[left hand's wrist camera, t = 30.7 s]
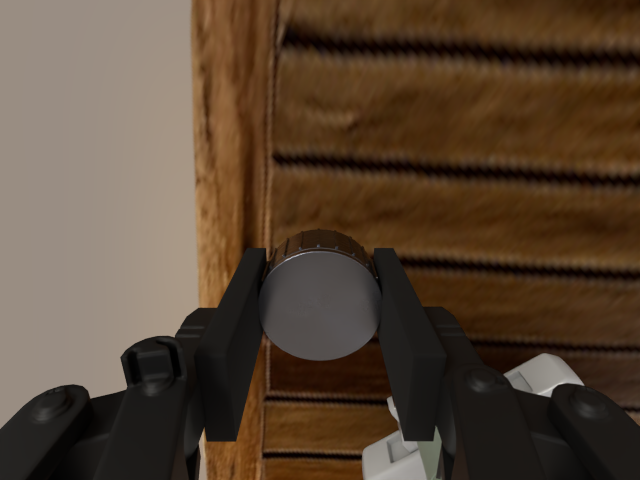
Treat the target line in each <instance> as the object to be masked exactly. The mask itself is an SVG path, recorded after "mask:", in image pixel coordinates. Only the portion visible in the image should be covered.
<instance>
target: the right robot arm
mask: <svg viewBox="0 0 640 480" xmlns="http://www.w3.org/2000/svg"><path fill="white" fill-rule="evenodd" d="M503 375H504V376H505V377H507V378H508V380H509V381H510V383H511V385H512V386H513V388H515V389H518V390H522V391H525V392H529V393H534V394H538V395H542V396H547V397H551V394H552V390H553V389H554V388H555V387H556V386H557V385H559V384H564V383H572V384H580V385H583V386H584V384H583V383H582V381H581V380H580V379H579V377H578V376H577V375H576V374H575V373H574V372H573V371H572V369H571V368H570V367H569V366H568V365H567V364H566V363H565V362H564V361H563V360H562V359H561V358H560V357H558V356H555V355H551V354H546V353H543V354H540V355H538V356H536V357H535V358H533V359H531V360H529V361H527V362H525V363H523V364H521V365H520V366H518V367H516V368H514V369H512V370H510V371H508V372H506V373H505V374H503ZM387 401H388V406H389V410H390V412H391V414H392V415H393V416H394V418H395V419H396V420H397V423H398V428H399V430H398V431H396V432H394V433H392V434H390V435H388V436H387V437H385V438H383V439H381V440H379V441H377V442H375V443H373V444H372V445H370V446H368V447H366V448H365V449H364V450H363V455H362V471H363V479H364V480H427V477H426V474H425V470H424V467H423V463H422V459H421V456H420V452H419V448H418V445H417V441H404V439H403V435H402V430H401V426H400V422H399V418H398V414H397V410H396V406H395V402H394V398H393V395H392V396H391V397H389V398H387Z"/></svg>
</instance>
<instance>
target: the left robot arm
mask: <svg viewBox="0 0 640 480" xmlns="http://www.w3.org/2000/svg"><path fill="white" fill-rule="evenodd" d="M266 264H267V258H266V248H247V249H246V251H245V253H244V255H243V257H242V259H241V261H240V263H239V265H238V267H237V269H236V271H235V273H234V275H233V277H232V279H231V281H230V283H229V285H228V287H227V289H226V291H225V293H224V295H223V297H222V299H221V301H220V303H219V305H218V307H217V308H198V309H196V310H195V311H194V312H192V313H191V314H190V315H188V316H187V317H186V319H185V320H184V322H183V323H182V325H181V327H180V329H179V330H178V331H177V333H176V335H175V338H174V337H171V336H156V337H151V338H147V339H144V340H142V341H140V342H137V343H135V344H134V345H132V346H131V347H130V348H128V349H127V350H126V351H125V352H124V353H123V355H122V356H121V362H122V366H123V370H124V374H125V378H126V383H127V389H126V390H124V391H120V392H117V393H113V394H109V395H105V396H100V397H96V398H92V399H90V396H89V393H88V391H87V390H86V389H85V388H84V387H83V386H79V385H74V384H73V385H64V386H59V387H56V388H53V389H50V390H47V391H45V392H44V393H42V394H40V395H38V396H36V397H34V398H33V399H32V400H31V401H29V402H28V403H27V404H25V405H24V406H23V407H22V408H21V409H20V410H19V411H18V412H17V413H16V414H15V415H14V416H13V417H12V418H11V419H10V420H9V421H8V422H7V423H6V424H5V425H4V426H3V427H2V428H1V429H0V480H199V469H200V459H201V456H200V449H199V440H200V437H201V435H202V432H203V429H204V427H205V433H206V440H207V441H236V439H237V435H238V431H239V427H240V423H241V419H242V415H243V411H244V407H245V403H246V399H247V395H248V391H249V387H250V383H251V379H252V375H253V371H254V367H255V363H256V359H257V355H258V351H259V347H260V343H261V339H262V334H263V328H262V326H261V324H260V320H259V307H258V294H259V291H260V287H261V284H262V282H261V279H262V276H263V273H264V270H265V267H266ZM373 264H374V267H375V270H376V273H377V276H378V284H379V287H380V290H381V293H382V310H381V321H380V324H379V326H378V328H377V334H378V338H379V342H380V346H381V350H382V354H383V358H384V362H385V366H386V370H387V374H388V378H389V382H390V386H391V390H392V394H393V398H394V402H395V406H396V410H397V414H398V418H399V422H400V426H401V430H402V435H403V439H404V441H434V435H435V428H436V427H437V429H438V432H439V435H440V438H441V441H442V443H441V449H440V455H439V461H438V467H437V474H436V478H437V479H442V480H640V426H639V425H638V424H637V423H636V422H635V421H634V420H633V419H632V418H631V417H630V416H629V415H628V414H627V413H626V412H624V411H623V410H622V409H621V408H620V407H619V406H618V405H617V404H616V403H615V402H614V401H612V400H611V399H610V398H609V397H607V396H606V395H604V394H602V393H600V392H598V391H596V390H594V389H592V388H589V387H586V386H583V385H580V384H572V383H564V384H559V385H557V386H556V387H555V388H554V389H553V390H552V394H551V397H547V396H542V395H538V394H534V393H529V392H525V391H522V390H518V389H515V388H513V386H512V385H511V383H510V381H509V380H508V378H507V377H505V376H504V375H503V374H502V373H500V372H499V371H497V370H495V369H493V368H491V367H489V366H486V365H484V363H483V361H482V360H481V358H480V357H479V355H478V353H477V352H476V350H475V349H474V347H473V345H472V344H471V342H470V341H469V339H468V338H467V336H465V333H464V331H463V330H462V328H460V325H459V323H458V322H457V320H456V318H455V317H454V315H452V314H451V313H450V312H448V311H447V310H446V309H444V308H443V307H422V305H421V303H420V301H419V299H418V297H417V295H416V293H415V291H414V289H413V287H412V285H411V283H410V281H409V279H408V277H407V275H406V273H405V271H404V269H403V267H402V265H401V263H400V261H399V259H398V257H397V255H396V253H395V251H394V249H393V248H374V262H373Z"/></svg>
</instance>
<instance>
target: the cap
mask: <svg viewBox="0 0 640 480" xmlns="http://www.w3.org/2000/svg"><path fill="white" fill-rule="evenodd" d="M261 282H262V284H261V287H260V291H259V294H258V307H259V320H260V324H261V326H262V328H263V330H264V331H265V333H266V334H267V336H268V337H269V338H270V339H271V341H272V342H273V343H275V344H276V345H277V346H278V347H279V348H281V349H282V350H284V351H286V352H287V353H289V354H291V355H294V356H297V357H300V358H303V359H308V360H320V361H322V360H332V359H337V358H341V357H344V356H346V355H349V354H351V353H353V352H355V351H356V350H358V349H359V348H361V347H362V346H364V345H365V344H366V343H367V342H368V341H369V340H370V339H371V337H372V336H373V335H374V333H375V332H376V330H377V328H378V326H379V324H380V321H381V310H382V293H381V290H380V287H379V284H378V276H377V273H376V270H375V267H374V264H373V261H372V258H371V259H370V258H369V256H368V254H367V253H366V251H365V249H364V247H363V246H362V247H361V246H360V245H359V244H358V243H357V242H356V241H355V240H353V239H352V237H348V236H346V235H344V234H342V233H339V232H336V231H335V230H334V231H331V230H320V229H318V230H309V231H304V232H303V231H301V233H299V234H296V235H294V236H292V237H290V238H287V239H286V241H284V242H283V243H282V244H281V245H280V246H279V247H278V248H275V250H274V253H273V255H272V256H271V258H270V260H269V261H267V264H266V267H265V270H264V273H263V276H262V279H261Z"/></svg>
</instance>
